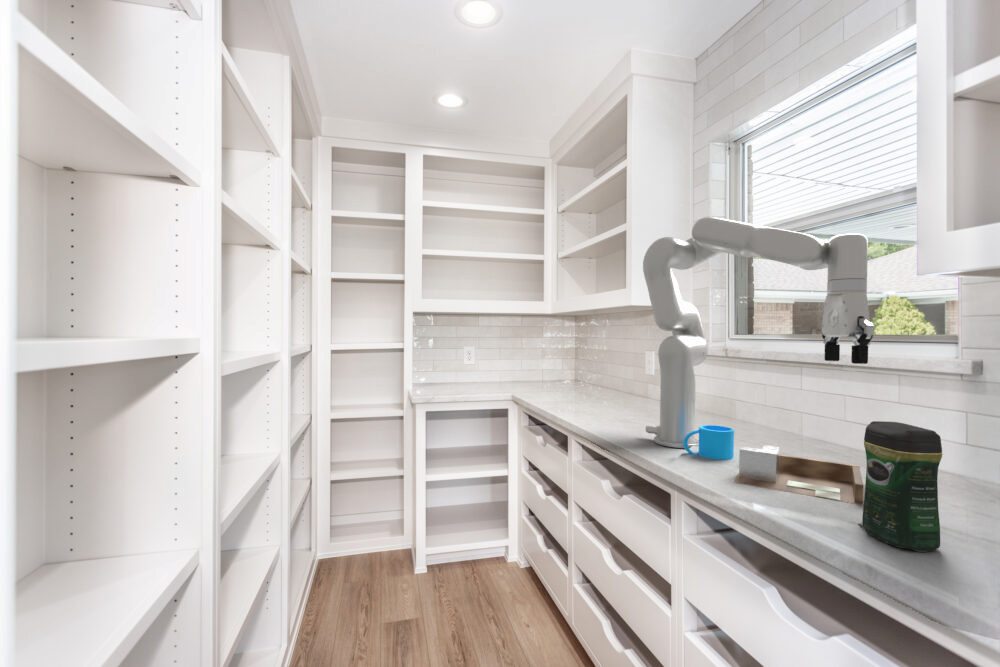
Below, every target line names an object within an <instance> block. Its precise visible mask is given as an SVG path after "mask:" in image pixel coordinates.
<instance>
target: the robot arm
mask: <svg viewBox="0 0 1000 667" xmlns="http://www.w3.org/2000/svg"><path fill="white" fill-rule="evenodd" d="M868 241H869V240H868V238H867V236H866V235H864V234H861V233H846V234H837V235H835V236H832V237H831V238H830V239H824V240H823V239H819V238H818V237H815V236H813V235H811V234H807V233H803V232H799V231H798V232H797V231H793V230H792V231H791V230H786V229H780V228H774V227H769V226H764V225H757V224H752V223H747V222H743V221H736V220H731V219H725V218H719V217H714V216H705V217H702V218H700V219H699V220H697V221H696V222H695V223H694V225H693V226H692V229H691V237H690V238H689V239H686V240H683V239H679V238H676V237H672V236H665V237H661V238H658V239H657V240H655V241H653V242H652V243H651V244H650V246H648V248H647V250H646V252H645V254H644V256H643V261H642V271H643V276H644V280H645V284H646V288H647V291H648V296H649V300H650V304H651V308H652V313H653V318H654V321H655V324H656V326H657V327H658V328H659V329H660V330H662V331H665V332H672V333H671V334H672V335H670V336H667V337H666V338H664V340H662V341H661V343H660V345H659V348H658V351H657V352H658V354H657V355H658V356H657V357H658V363H659V370H660V372H659V373H660V374H659V375H660V400H659V403H660V404H659V405H660V406H659V411H660V413H659V425H657V426H653V425H646V426H645V433H647V434H654V435H656V436H654V437H653V441H654V442H653V443H656V444H658V445H660V446H665V447H668V448H669V447H670V448H677V449H685V448H684V444H683V442H684V438H685V437H686V435H687V434H689V433H690V432H692V431H695V430H696V429H695V427H696V425H695V424H696V423H695V422H696V377H695V376H696V375H695V370H694V369H695V368H694V367H696V366H699V365H701V364H702V363H704V362H705V360H706V359H707V356H708V352H709V347H708V341H707V339H706V334H705V330H704V327H703V322H702V318H701V316H700V313H699V311H698V309H697V308H696V306H695V305H694V304H692V303H691V302H689V301H687V300H683V299H682V296H681V293H680V290H679V289H680V288H679V283H678V282H677V279H676V277H675V276H674V273H673V270H672V269H675V270H680V271H681V270H682V271H683V270H689V269H692V268H694V267H696V266H698V265H700V264H701V263H704V262H705V261H707V260H709V259H712V258H714V257H715V256H717V255H718V254H720V253H726V254H729V255H730V254H731V255H733V256H734V255H736V256H737V257H738V256H739V257H743V258H747V259H749V258H760V259H764V260H765V259H766V260H769V261H774V262H779V263H782V264H786V265H791V266H794V267H797V268H800V269H802V270H804V271H805V270H806V271H817V270H823V269H827V275H826V276H827V281H826V282H827V283H826V284H827V285H826V296H825V300H824V305H823V311H822V324H821V326H820V331H821V334H822V335H821V337H822V339H823V344H824V361H826V362H839V361H840V358H841V357H840V356H841V355H840V354H841V352H840V351H841V350H840V349H841V348H840V347H841V345H840V344H838V343H839V342H840V340H841V339H842V337H844V338H845V337H847V338H850V339H851V341H852V343H853V345H851V355H850V356H851V364H856V365H857V364H860V365H861V364H862V365H864V364H865V365H866V364H868V363H869V346H870V345H871V340H872V339H873V334H874V332H875V329H876V326H875V325H874V324H873V323H872V322H870V311H869V302H868V252H869V251H868V250H869V249H868V248H869V246H868V245H869V244H868V243H869V242H868ZM687 445H688V447H689V449H691V448H692V447H698V448H699V439H697V438H695V434H693V435H692V436H690V438H689V439H688V442H687Z"/></svg>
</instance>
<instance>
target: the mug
mask: <svg viewBox="0 0 1000 667" xmlns="http://www.w3.org/2000/svg"><path fill="white" fill-rule="evenodd" d="M693 434H694V435H697V434H698V440H699V447H698V453H696V452H693V451H692V450H691V448H689V447H688V445H687V442H688V439H689V438H690V436H692V435H693ZM683 444H684V448H683V449H684V450H685V451H686V452H687V453H688V454H690V455H695V456H696V455H699V456H701V457H703V458H708V459H713V460H733V459H734V455H735V454H734V451H735V445H734V444H735V429H734V428H731V427H728V426H722V425H716V424H715V425H714V424H713V425H712V424H711V425H710V424H709V425H708V424H703V425H699V426H698V429H695V431H692V432H690V433H689V434H687V435H686V437H685V438H684V442H683Z"/></svg>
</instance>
